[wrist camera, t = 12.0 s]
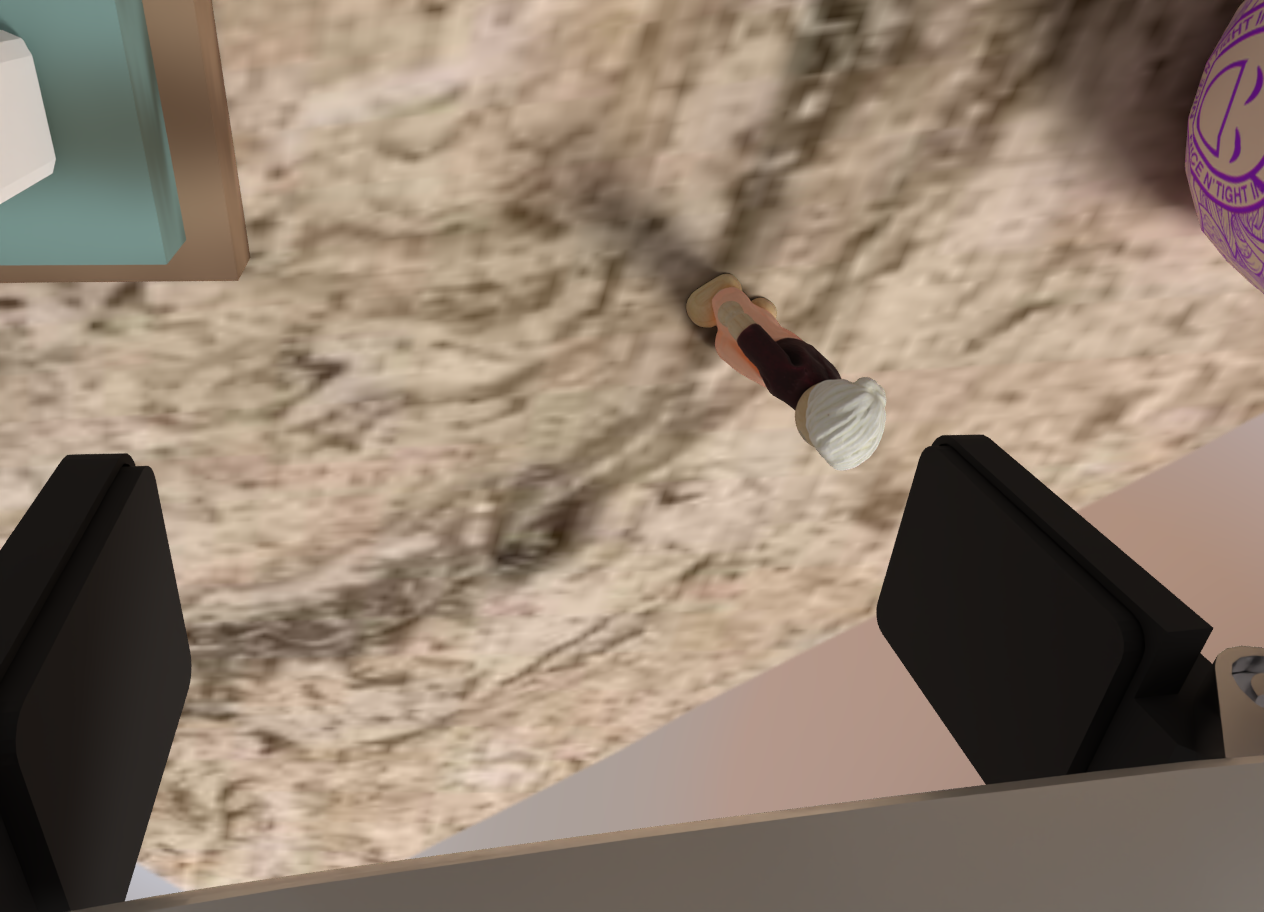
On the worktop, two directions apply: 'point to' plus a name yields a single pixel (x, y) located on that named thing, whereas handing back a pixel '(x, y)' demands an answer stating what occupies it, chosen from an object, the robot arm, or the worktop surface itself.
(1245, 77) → the bowl of food
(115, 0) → the square push button
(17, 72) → the pepper shaker
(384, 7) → the worktop surface
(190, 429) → the worktop surface
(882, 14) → the worktop surface
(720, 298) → the grandmother figurine
